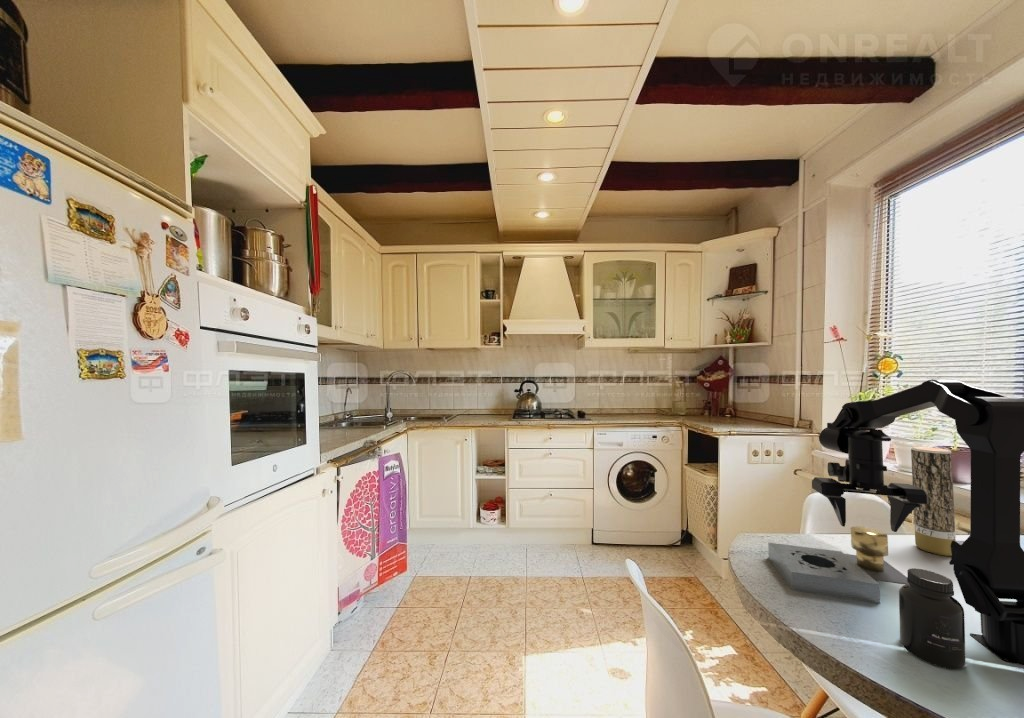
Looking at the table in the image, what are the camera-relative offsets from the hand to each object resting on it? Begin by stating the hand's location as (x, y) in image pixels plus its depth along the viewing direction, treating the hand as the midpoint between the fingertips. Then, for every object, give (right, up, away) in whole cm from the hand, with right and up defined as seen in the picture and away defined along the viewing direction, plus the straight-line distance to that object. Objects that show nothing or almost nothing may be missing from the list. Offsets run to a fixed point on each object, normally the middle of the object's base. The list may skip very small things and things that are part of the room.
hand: (867, 528), depth 84 cm
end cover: (0, -8, -1) cm, 8 cm away
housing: (-15, -9, -5) cm, 18 cm away
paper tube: (+25, -10, +9) cm, 28 cm away
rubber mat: (0, -9, -1) cm, 9 cm away
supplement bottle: (-15, -8, -26) cm, 31 cm away
